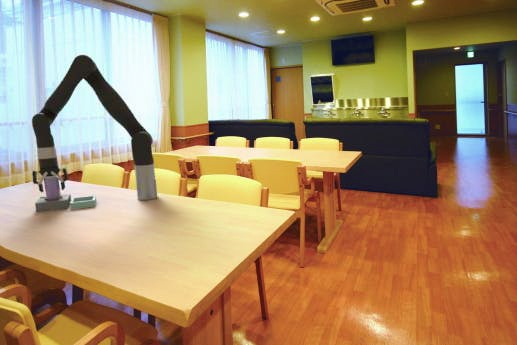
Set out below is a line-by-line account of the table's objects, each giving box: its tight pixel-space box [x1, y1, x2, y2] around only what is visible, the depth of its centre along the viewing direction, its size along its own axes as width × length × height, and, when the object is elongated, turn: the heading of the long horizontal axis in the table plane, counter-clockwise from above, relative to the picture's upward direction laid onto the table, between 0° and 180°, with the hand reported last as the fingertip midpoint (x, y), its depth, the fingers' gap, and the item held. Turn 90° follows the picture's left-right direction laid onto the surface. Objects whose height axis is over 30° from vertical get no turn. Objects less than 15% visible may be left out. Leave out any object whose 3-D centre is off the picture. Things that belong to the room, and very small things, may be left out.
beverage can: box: [43, 176, 62, 201], centre depth 172 cm, size 6×6×15 cm
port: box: [34, 193, 72, 213], centre depth 173 cm, size 13×13×4 cm
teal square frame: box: [69, 194, 97, 210], centre depth 174 cm, size 10×10×3 cm
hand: (52, 190), depth 172 cm, fingers open, 8 cm apart
